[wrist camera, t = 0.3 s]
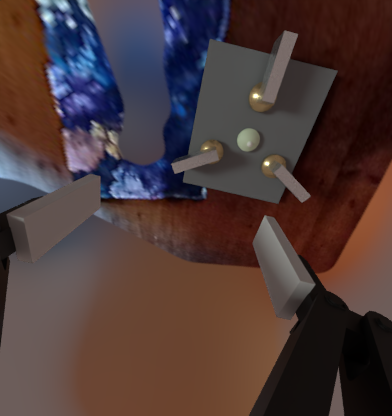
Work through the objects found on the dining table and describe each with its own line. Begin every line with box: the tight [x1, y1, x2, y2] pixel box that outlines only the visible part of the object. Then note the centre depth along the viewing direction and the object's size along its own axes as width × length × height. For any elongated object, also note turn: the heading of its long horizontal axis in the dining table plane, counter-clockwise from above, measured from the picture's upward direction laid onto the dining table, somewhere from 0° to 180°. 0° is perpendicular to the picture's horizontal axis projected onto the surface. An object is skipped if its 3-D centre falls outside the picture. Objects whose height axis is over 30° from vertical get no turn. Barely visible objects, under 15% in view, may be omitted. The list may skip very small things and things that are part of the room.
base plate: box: [183, 39, 337, 203], centre depth 36 cm, size 24×21×3 cm
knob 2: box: [248, 31, 298, 112], centre depth 29 cm, size 9×4×6 cm, turn 168°
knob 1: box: [172, 139, 223, 173], centre depth 35 cm, size 9×4×6 cm, turn 108°
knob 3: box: [261, 154, 311, 202], centre depth 35 cm, size 9×4×6 cm, turn 48°
